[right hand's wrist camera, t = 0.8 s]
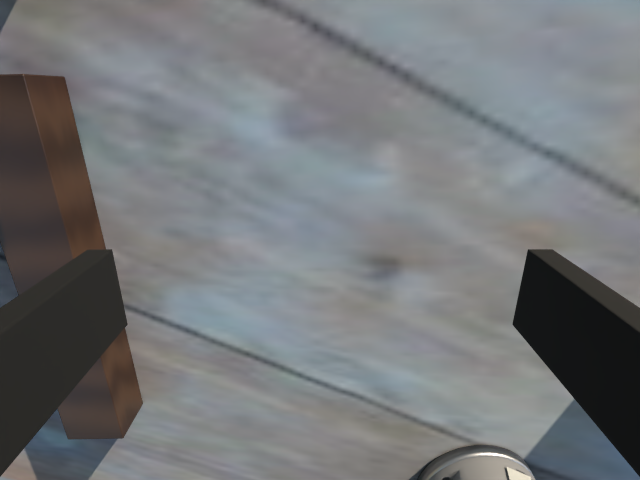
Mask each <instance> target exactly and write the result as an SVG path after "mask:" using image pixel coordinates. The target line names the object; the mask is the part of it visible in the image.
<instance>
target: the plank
mask: <svg viewBox="0 0 640 480" xmlns="http://www.w3.org/2000/svg"><path fill="white" fill-rule="evenodd" d="M0 242H1V245H2V248H3V251H4V254H5V257H6V260H7V263H8V266H9V269H10V272H11V274H12V277H13V280H14V283H15V286H16V289H17V292H18V295H20V294H22V293H23V292H25V291H26V290H28V289H29V288H31V287H32V286H34V285H35V284H37V283H38V282H40V281H41V280H43V279H44V278H46V277H47V276H49V275H50V274H52V273H53V272H55V271H56V270H58V269H59V268H61V267H62V266H64V265H65V264H67V263H68V262H70V261H71V260H73V259H74V258H76V257H77V256H79V255H80V254H82V253H83V252H85V251H86V250H106V248H105V244H104V239H103V235H102V231H101V227H100V223H99V219H98V214H97V210H96V206H95V202H94V198H93V194H92V189H91V185H90V181H89V177H88V173H87V169H86V165H85V160H84V156H83V152H82V148H81V144H80V140H79V135H78V131H77V127H76V123H75V119H74V115H73V110H72V106H71V102H70V98H69V94H68V90H67V85H66V81H65V78H64V77H61V76H45V75H29V74H8V75H0ZM142 404H143V402H142V398H141V393H140V389H139V385H138V381H137V377H136V373H135V368H134V364H133V360H132V356H131V352H130V348H129V344H128V339H127V335H126V331H125V328H124V329H123V330H122V332H121V333H120V334H119V335H118V336H117V338H116V339H115V340H114V341H113V342H112V344H111V345H110V346H109V347H108V348H107V350H106V351H105V352H104V353H103V354H102V356H101V357H100V358H99V359H98V360H97V362H96V363H95V364H94V365H93V366H92V367H91V369H90V370H89V371H88V372H87V373H86V375H85V376H84V377H83V378H82V379H81V381H80V382H79V383H78V384H77V385H76V387H75V388H74V389H73V390H72V391H71V393H70V394H69V395H68V396H67V397H66V399H65V400H64V401H63V402H62V403H61V405H60V406H59V407H58V411H59V414H60V417H61V420H62V423H63V426H64V429H65V432H66V435H67V438H68V439H113V438H124V436H125V434H126V432H127V431H128V429H129V427H130V425H131V424H132V422H133V420H134V418H135V417H136V415H137V413H138V411H139V410H140V408H141V406H142Z"/></svg>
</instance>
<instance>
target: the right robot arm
mask: <svg viewBox="0 0 640 480" xmlns="http://www.w3.org/2000/svg"><path fill="white" fill-rule="evenodd" d="M126 326H127V320H126V315H125V310H124V305H123V300H122V296H121V291H120V286H119V281H118V276H117V271H116V267H115V262H114V257H113V252H112V250H86V251H85V252H83V253H82V254H80V255H79V256H77V257H76V258H74V259H73V260H71V261H70V262H68V263H67V264H65V265H64V266H62V267H61V268H59V269H58V270H56V271H55V272H53V273H52V274H50V275H49V276H47V277H46V278H44V279H43V280H41V281H40V282H38V283H37V284H35V285H34V286H32V287H31V288H29V289H28V290H26V291H25V292H23V293H22V294H20V295H19V296H17V297H16V298H15V299H13V300H12V301H10V302H9V303H7V304H6V305H4V306H3V307H1V308H0V476H1V475H2V474H3V473H4V472H5V470H6V469H7V468H8V467H9V466H10V464H11V463H12V462H13V461H14V460H15V458H16V457H17V456H18V455H19V454H20V452H21V451H22V450H23V449H24V448H25V446H26V445H27V444H28V443H29V442H30V440H31V439H32V438H33V437H34V436H35V434H36V433H37V432H38V431H39V430H40V429H41V427H42V426H43V425H44V424H45V423H46V421H47V420H48V419H49V418H50V417H51V415H52V414H53V413H54V412H55V411H56V409H57V408H58V407H59V406H60V405H61V403H62V402H63V401H64V400H65V399H66V397H67V396H68V395H69V394H70V393H71V391H72V390H73V389H74V388H75V387H76V385H77V384H78V383H79V382H80V381H81V379H82V378H83V377H84V376H85V375H86V373H87V372H88V371H89V370H90V369H91V367H92V366H93V365H94V364H95V363H96V362H97V360H98V359H99V358H100V357H101V356H102V354H103V353H104V352H105V351H106V350H107V348H108V347H109V346H110V345H111V344H112V342H113V341H114V340H115V339H116V338H117V336H118V335H119V334H120V333H121V332H122V330H123V329H124V328H125V327H126ZM513 326H514V327H515V328H516V329H517V330H518V332H519V333H520V334H521V335H522V336H523V338H524V339H525V340H526V341H527V342H528V344H529V345H530V346H531V347H532V348H533V350H534V351H535V352H536V353H537V354H538V356H539V357H540V358H541V359H542V360H543V362H544V363H545V364H546V365H547V366H548V367H549V369H550V370H551V371H552V372H553V373H554V375H555V376H556V377H557V378H558V379H559V381H560V382H561V383H562V384H563V385H564V387H565V388H566V389H567V390H568V391H569V393H570V394H571V395H572V396H573V397H574V399H575V400H576V401H577V402H578V403H579V405H580V406H581V407H582V408H583V409H584V411H585V412H586V413H587V414H588V415H589V417H590V418H591V419H592V420H593V421H594V423H595V424H596V425H597V426H598V427H599V429H600V430H601V431H602V432H603V433H604V434H605V436H606V437H607V438H608V439H609V440H610V442H611V443H612V444H613V445H614V446H615V448H616V449H617V450H618V451H619V452H620V454H621V455H622V456H623V457H624V458H625V460H626V461H627V462H628V463H629V464H630V466H631V467H632V468H633V469H634V470H635V472H636V473H637V474H638V475H639V476H640V308H639V307H637V306H636V305H634V304H633V303H631V302H630V301H628V300H627V299H625V298H624V297H623V296H621V295H620V294H618V293H617V292H615V291H614V290H612V289H611V288H609V287H608V286H606V285H605V284H603V283H602V282H600V281H599V280H597V279H596V278H594V277H593V276H591V275H590V274H588V273H587V272H585V271H584V270H582V269H581V268H579V267H578V266H576V265H575V264H573V263H572V262H570V261H569V260H567V259H566V258H564V257H563V256H561V255H560V254H558V253H557V252H555V251H554V250H528V252H527V257H526V262H525V267H524V271H523V276H522V281H521V286H520V291H519V296H518V300H517V305H516V310H515V315H514V320H513ZM418 480H536V479H535V477H534V475H533V474H532V472H531V470H530V468H529V467H528V465H527V463H526V462H525V461H524V460H523V459H522V458H521V457H520V456H518V455H517V454H515V453H514V452H512V451H510V450H507V449H504V448H501V447H496V446H489V445H474V446H467V447H462V448H458V449H455V450H452V451H450V452H447V453H445V454H443V455H441V456H440V457H438V458H436V459H435V460H434V461H432V462H431V463H430V464H429V465H428V466H427V467H426V468H425V469H424V470H423V472H422V473H421V475H420V476H419V478H418Z"/></svg>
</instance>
